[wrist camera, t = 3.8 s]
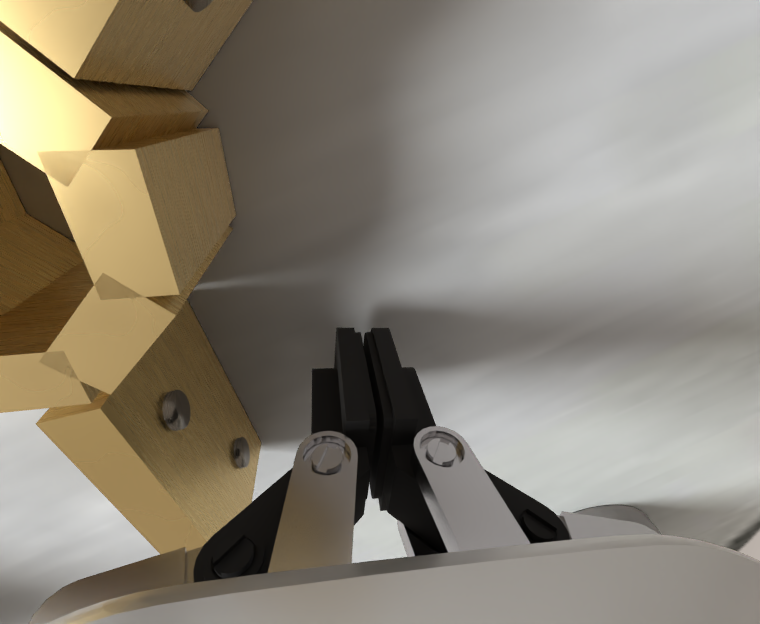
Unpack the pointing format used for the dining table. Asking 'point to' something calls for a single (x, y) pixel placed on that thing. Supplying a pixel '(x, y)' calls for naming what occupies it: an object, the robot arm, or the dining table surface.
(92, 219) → the hinge base
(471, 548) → the robot arm
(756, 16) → the dining table surface
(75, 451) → the wooden hinge leaf
